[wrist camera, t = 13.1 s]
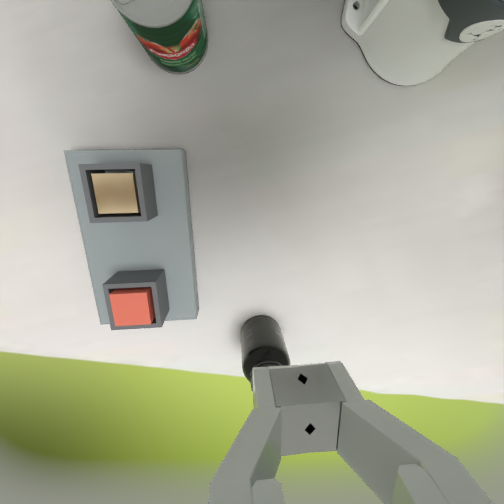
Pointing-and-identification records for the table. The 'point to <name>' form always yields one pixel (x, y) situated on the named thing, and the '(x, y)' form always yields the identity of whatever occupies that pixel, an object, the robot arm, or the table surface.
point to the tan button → (116, 193)
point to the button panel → (139, 231)
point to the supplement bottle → (262, 345)
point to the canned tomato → (168, 31)
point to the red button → (132, 306)
